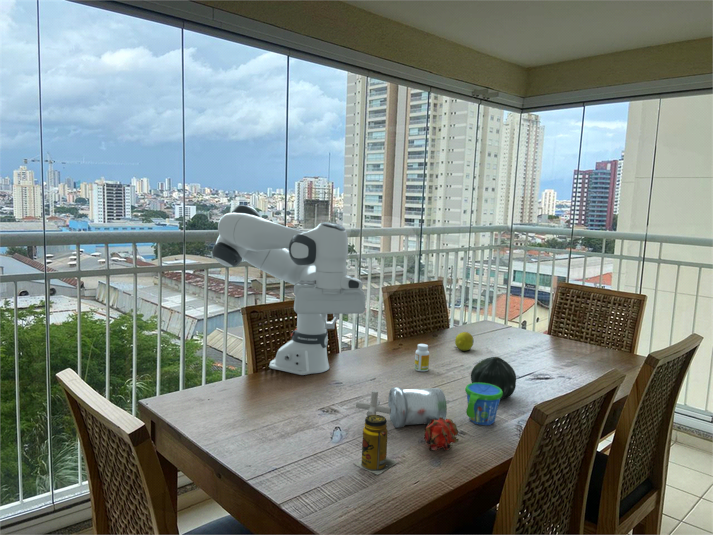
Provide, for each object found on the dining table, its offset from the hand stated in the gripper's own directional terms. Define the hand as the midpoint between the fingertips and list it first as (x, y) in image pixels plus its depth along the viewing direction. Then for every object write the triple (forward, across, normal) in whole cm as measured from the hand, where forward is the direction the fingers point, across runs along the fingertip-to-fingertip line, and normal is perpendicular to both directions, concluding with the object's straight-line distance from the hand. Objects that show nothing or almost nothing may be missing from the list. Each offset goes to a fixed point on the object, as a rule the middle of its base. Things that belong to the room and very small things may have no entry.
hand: (329, 328), depth 150 cm
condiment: (+27, +8, -27) cm, 39 cm away
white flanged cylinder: (+27, +26, -5) cm, 38 cm away
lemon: (+28, +73, +65) cm, 102 cm away
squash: (+28, +60, +12) cm, 67 cm away
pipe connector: (+27, +13, -5) cm, 31 cm away
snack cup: (+28, +46, -6) cm, 54 cm away
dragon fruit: (+28, +27, -21) cm, 44 cm away
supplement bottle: (+28, +44, +41) cm, 66 cm away
